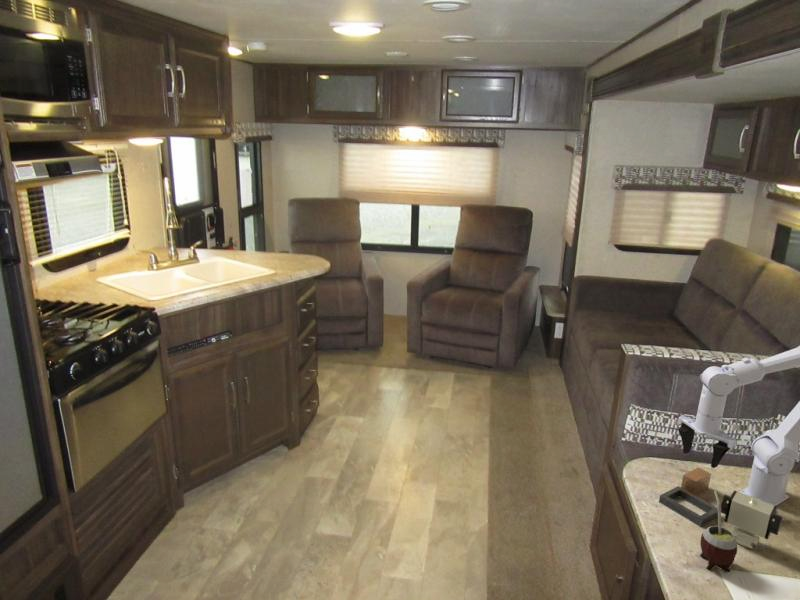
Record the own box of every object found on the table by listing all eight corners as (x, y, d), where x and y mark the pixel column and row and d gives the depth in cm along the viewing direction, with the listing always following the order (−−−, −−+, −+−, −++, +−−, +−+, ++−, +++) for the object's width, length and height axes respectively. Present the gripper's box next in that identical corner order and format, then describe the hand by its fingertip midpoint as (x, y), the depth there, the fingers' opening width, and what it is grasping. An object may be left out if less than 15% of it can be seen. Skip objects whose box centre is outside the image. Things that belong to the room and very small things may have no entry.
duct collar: (677, 492, 152) (678, 486, 152) (719, 516, 143) (720, 509, 142) (658, 501, 148) (660, 495, 148) (700, 527, 139) (702, 520, 138)
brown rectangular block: (695, 483, 157) (698, 467, 155) (707, 490, 154) (711, 473, 152) (680, 491, 153) (683, 474, 152) (692, 498, 150) (695, 481, 149)
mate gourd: (723, 580, 122) (736, 520, 118) (687, 558, 128) (698, 501, 124) (739, 565, 127) (752, 507, 122) (703, 545, 133) (714, 489, 128)
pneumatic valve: (770, 560, 128) (782, 514, 125) (713, 535, 136) (723, 492, 133) (775, 547, 132) (786, 503, 129) (720, 524, 140) (729, 482, 136)
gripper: (674, 404, 150) (666, 450, 154) (729, 428, 139) (718, 477, 143) (690, 398, 154) (681, 443, 158) (745, 422, 142) (734, 469, 146)
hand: (700, 459), depth 151 cm, fingers open, 7 cm apart
